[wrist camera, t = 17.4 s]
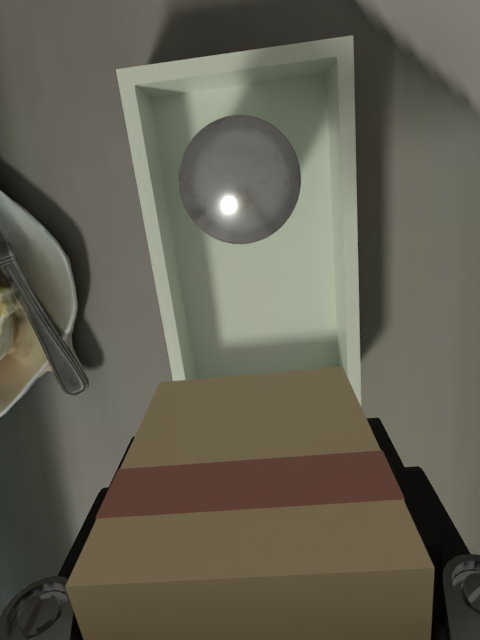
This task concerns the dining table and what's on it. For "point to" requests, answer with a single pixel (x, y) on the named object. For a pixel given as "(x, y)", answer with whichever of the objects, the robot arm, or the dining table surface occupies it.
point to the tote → (279, 248)
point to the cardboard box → (254, 521)
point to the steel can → (239, 179)
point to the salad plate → (34, 308)
